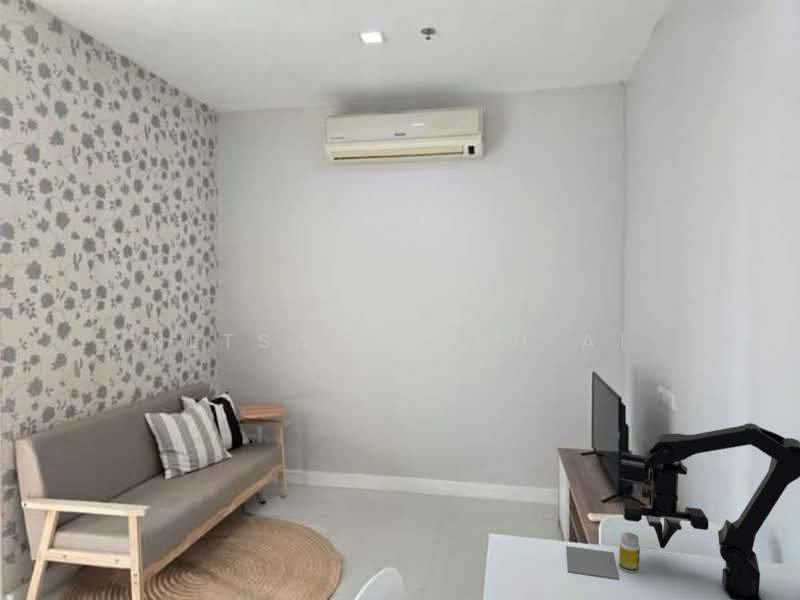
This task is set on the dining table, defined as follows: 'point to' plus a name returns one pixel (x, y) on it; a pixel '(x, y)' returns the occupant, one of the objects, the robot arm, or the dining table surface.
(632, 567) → the supplement bottle
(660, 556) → the dining table surface
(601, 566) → the mat
